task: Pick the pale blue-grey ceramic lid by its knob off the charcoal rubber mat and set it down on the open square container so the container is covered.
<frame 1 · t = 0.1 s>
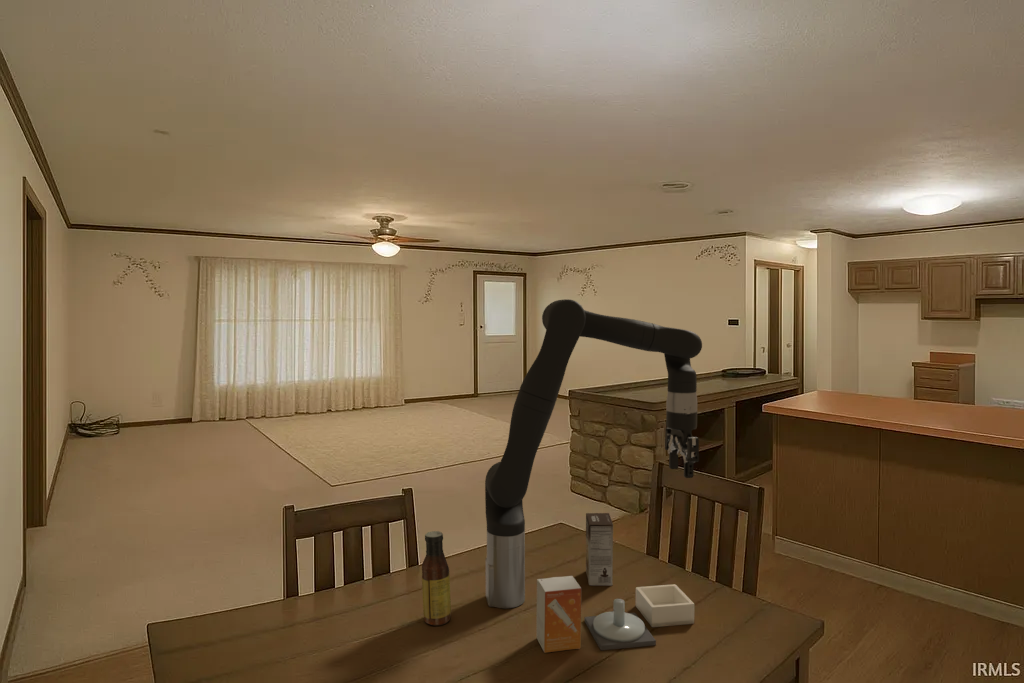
hand: (680, 473, 152), 29 cm above the table, fingers open, 8 cm apart
coffee box: (598, 579, 159), on the table
small box: (558, 644, 127), on the table
lid: (618, 628, 131), point 1 cm above the table, touching mat
mat: (618, 632, 131), on the table
open square container: (664, 614, 139), on the table
sauce bottle: (436, 620, 137), on the table
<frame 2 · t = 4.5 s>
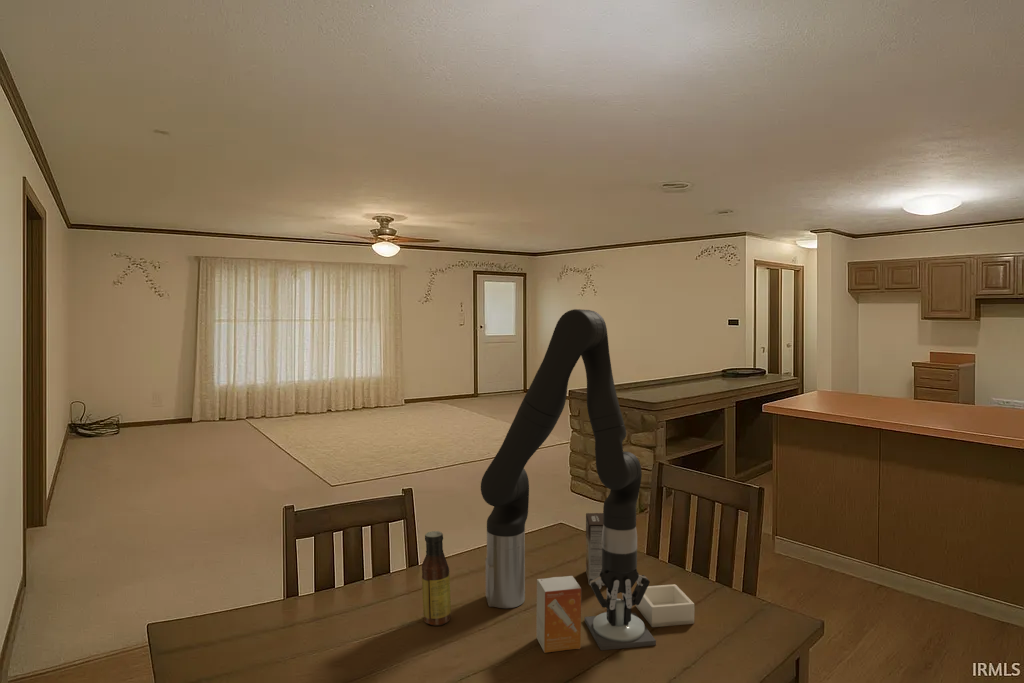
hand: (618, 623, 131), 2 cm above the table, fingers closed on lid, 2 cm apart
lid: (618, 628, 131), point 1 cm above the table, touching gripper, mat
everything else where it was.
when the fingers open (7 cm above the table, at t = 9.0 s): lid drops 1 cm, resting on open square container.
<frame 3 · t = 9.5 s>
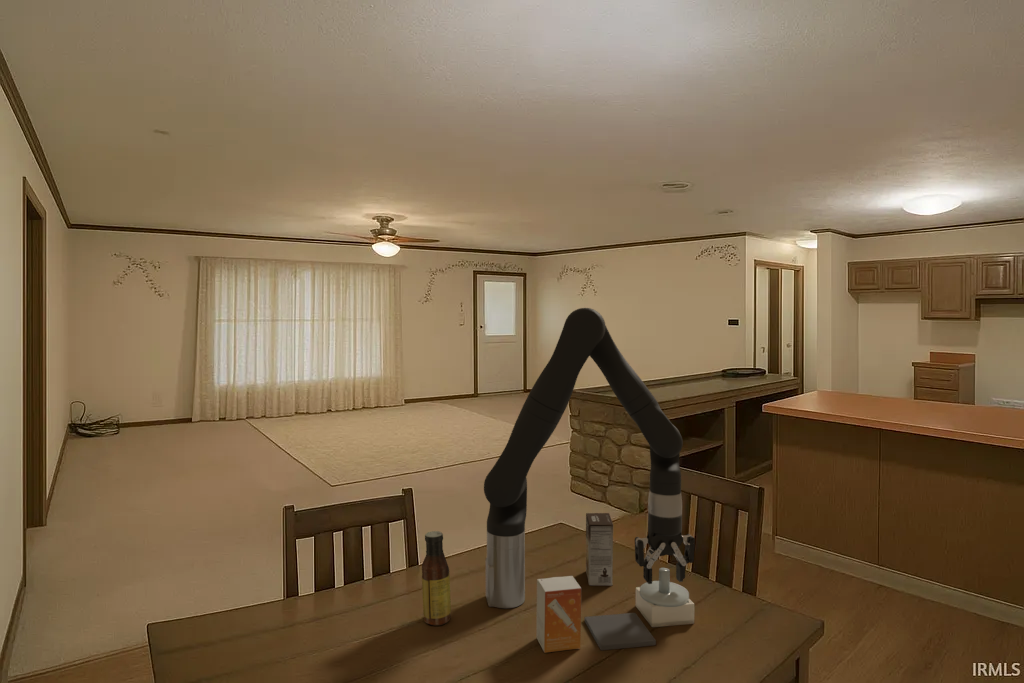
hand: (664, 581, 139), 8 cm above the table, fingers open, 7 cm apart
lid: (664, 595, 139), point 4 cm above the table, touching open square container
everything else where it was.
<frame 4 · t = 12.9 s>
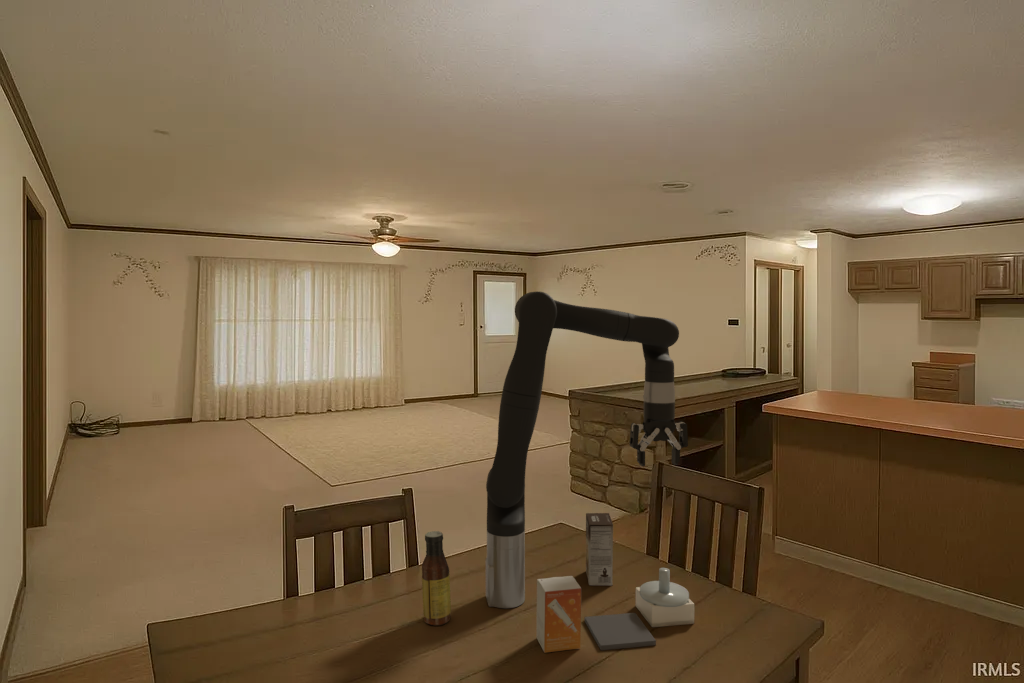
hand: (658, 464, 149), 32 cm above the table, fingers open, 8 cm apart
nothing on the table moved.
at the end: lid 0.1 cm off-centre on the open square container, point 4.5 cm above the open square container's base; lid tilted 0°; the gripper is holding nothing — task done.
